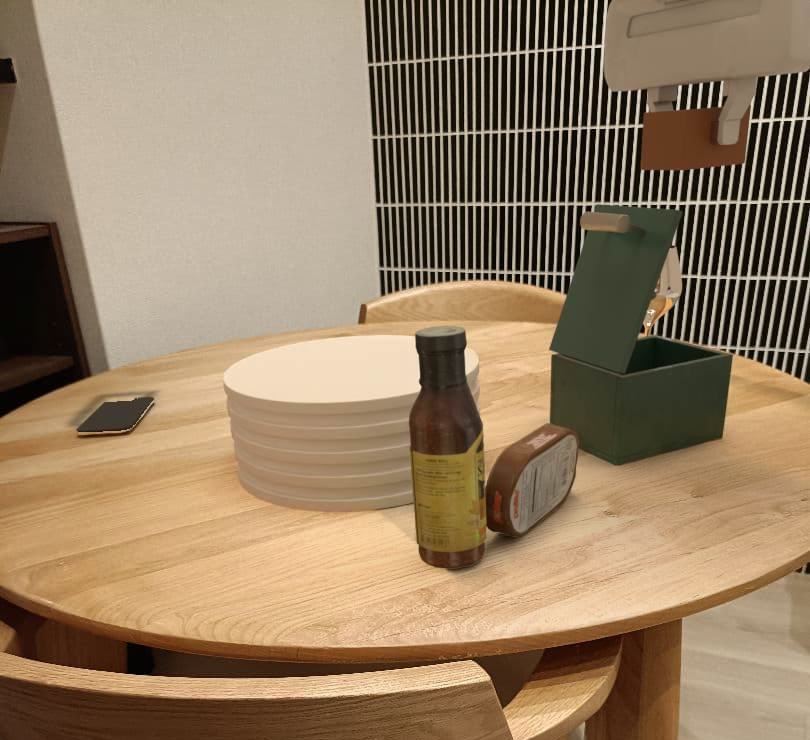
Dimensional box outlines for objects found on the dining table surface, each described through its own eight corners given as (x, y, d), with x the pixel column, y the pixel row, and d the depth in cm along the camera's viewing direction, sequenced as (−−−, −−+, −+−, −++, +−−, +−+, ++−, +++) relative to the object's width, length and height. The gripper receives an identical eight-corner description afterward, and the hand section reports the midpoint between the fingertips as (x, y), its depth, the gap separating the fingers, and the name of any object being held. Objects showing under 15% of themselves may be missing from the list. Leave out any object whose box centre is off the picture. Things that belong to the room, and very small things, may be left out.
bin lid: (601, 206, 91) (569, 192, 89) (683, 212, 81) (648, 196, 78) (553, 351, 96) (521, 342, 93) (624, 374, 85) (590, 364, 83)
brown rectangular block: (701, 163, 73) (706, 108, 71) (745, 163, 69) (751, 104, 67) (640, 170, 71) (643, 112, 69) (682, 170, 67) (686, 109, 65)
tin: (554, 489, 85) (556, 410, 81) (582, 494, 83) (586, 415, 79) (479, 546, 74) (478, 459, 70) (510, 554, 72) (510, 465, 69)
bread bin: (649, 410, 106) (655, 334, 101) (723, 437, 96) (733, 354, 91) (549, 434, 100) (551, 354, 96) (616, 465, 90) (621, 377, 85)
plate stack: (450, 413, 109) (448, 326, 104) (510, 493, 84) (510, 384, 79) (239, 436, 106) (225, 347, 101) (236, 526, 81) (218, 415, 76)
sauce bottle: (497, 565, 71) (496, 334, 62) (429, 578, 69) (417, 344, 61) (471, 534, 76) (466, 318, 68) (407, 545, 75) (393, 327, 66)
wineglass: (636, 366, 125) (645, 242, 117) (684, 374, 120) (697, 244, 112) (604, 378, 120) (611, 249, 112) (653, 387, 115) (664, 252, 107)
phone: (156, 396, 122) (129, 427, 108) (157, 401, 122) (130, 433, 109) (106, 399, 122) (73, 431, 108) (107, 404, 122) (74, 437, 109)
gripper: (859, -85, 56) (826, 139, 62) (651, -28, 72) (641, 145, 79) (793, -89, 53) (766, 146, 60) (594, -29, 70) (588, 150, 76)
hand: (694, 145), depth 69 cm, fingers closed on brown rectangular block, 5 cm apart
